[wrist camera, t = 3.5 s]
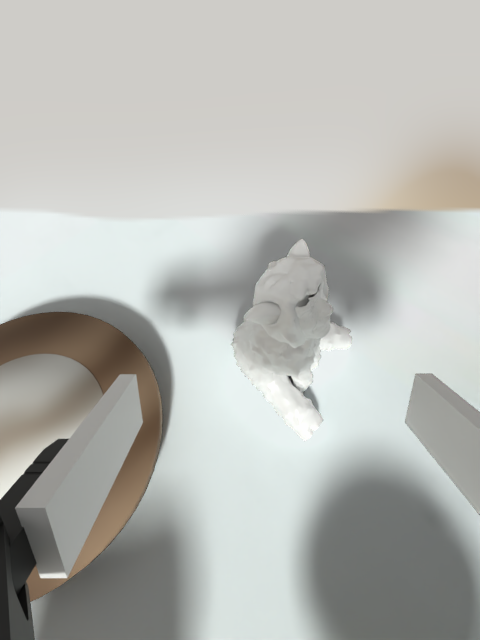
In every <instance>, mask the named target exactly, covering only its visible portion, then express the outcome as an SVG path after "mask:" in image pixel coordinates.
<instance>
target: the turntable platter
mask: <svg viewBox="0 0 480 640" xmlns="http://www.w3.org/2000/svg"><path fill="white" fill-rule="evenodd" d="M120 374H136V377H137V384H138V391H139V398H140V405H141V412H142V419H143V423H142V426H141V428H140V430H139V432H138V434H137V436H136V438H135V440H134V442H133V444H132V446H131V448H130V450H129V452H128V454H127V456H126V459H125V461H124V463H123V465H122V467H121V469H120V471H119V473H118V475H117V477H116V479H115V481H114V483H113V485H112V487H111V489H110V491H109V494H108V496H107V498H106V500H105V502H104V504H103V506H102V508H101V510H100V512H99V514H98V516H97V518H96V520H95V522H94V524H93V526H92V529H91V531H90V533H89V535H88V537H87V539H86V541H85V543H84V545H83V547H82V549H81V551H80V553H79V555H78V557H77V559H76V562H75V564H74V566H73V568H72V570H71V572H70V574H69V576H68V578H40V575H39V573H38V570H37V567H36V565H35V567H34V569H33V570H32V572H31V574H30V575H29V577H28V579H27V580H26V582H27V585H28V587H29V595H30V602H31V601H33V600H36V599H38V598H40V597H42V596H43V595H45V594H47V593H49V592H50V591H52V590H54V589H56V588H57V587H59V586H61V585H62V584H63V583H65V582H66V581H68V580H69V579H70V578H72V577H73V576H74V575H76V574H77V573H78V572H80V571H81V570H82V569H84V568H85V567H86V566H88V565H89V564H90V563H91V562H92V561H93V560H94V559H95V558H96V557H97V556H99V555H100V554H101V553H102V552H103V551H104V550H105V549H106V548H107V547H108V546H109V545H110V543H111V542H112V541H113V540H114V539H115V537H116V536H117V535H118V534H119V533H120V532H121V530H122V529H123V528H124V526H125V525H126V523H127V522H128V520H129V519H130V517H131V516H132V514H133V513H134V511H135V510H136V508H137V506H138V504H139V502H140V501H141V499H142V497H143V495H144V493H145V491H146V489H147V486H148V484H149V481H150V479H151V476H152V474H153V471H154V468H155V464H156V461H157V457H158V454H159V449H160V442H161V436H162V419H163V414H162V403H161V396H160V392H159V387H158V383H157V380H156V378H155V375H154V373H153V370H152V368H151V366H150V365H149V363H148V361H147V359H146V357H145V356H144V355H143V354H142V352H141V351H140V350H139V348H138V347H137V346H136V345H135V344H134V343H133V342H132V341H131V340H130V339H129V338H128V337H127V336H125V335H124V334H123V333H122V332H121V331H119V330H118V329H116V328H115V327H113V326H112V325H110V324H108V323H106V322H104V321H102V320H100V319H97V318H94V317H91V316H88V315H83V314H77V313H72V312H48V313H39V314H34V315H28V316H24V317H21V318H17V319H14V320H11V321H8V322H6V323H3V324H1V325H0V499H1V498H2V497H3V496H4V495H5V494H6V492H7V491H8V490H9V489H10V488H11V487H12V485H13V484H14V483H15V482H16V481H17V480H18V479H19V477H20V476H21V475H23V474H24V472H25V470H26V469H27V468H28V467H29V466H30V465H31V464H33V461H34V460H35V459H36V458H37V456H38V455H39V454H40V453H41V452H42V451H43V450H44V449H45V448H46V447H48V446H49V445H50V444H52V443H53V442H54V441H56V440H57V439H69V438H70V437H71V436H72V435H73V433H74V432H75V431H76V430H77V428H78V427H79V426H80V424H81V423H82V422H83V421H84V419H85V418H86V417H87V416H88V414H89V413H90V412H91V410H92V409H93V408H94V407H95V405H96V404H97V403H98V402H99V400H100V399H101V398H102V396H103V395H104V394H105V393H106V391H107V390H108V389H109V388H110V386H111V385H112V384H113V382H114V381H115V380H116V379H117V377H118V376H119V375H120Z"/></svg>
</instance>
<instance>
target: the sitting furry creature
mask: <svg viewBox="0 0 480 640" xmlns="http://www.w3.org/2000/svg"><path fill="white" fill-rule="evenodd" d="M328 298H329V288H328V285H327V279H326V272H325V267H324V265H323V264H321V263H320V262H319V261H317V260H316V259H314V258H312V257H310V253H309V249H308V246H307V243H306V242H305V241H304V240H303V239H300V240H299V241H297V242H296V244H295V245H294V246H293V247H292V248H291V249H290V251H289V253H288V255H287V257H285V258H281V259H279V260H278V261H272V262H270V263H269V264H268V269H267V270H265V272H264V273H263V275H262V276H261V277H260V279H259V280H258V282H257V283H256V284H255V292H254V297H253V307H252V308H251V309H249V310H248V311H247V312H246V314H245V315H244V317H243V319H244V320H245V321H243V323H242V324H241V325H240V326H238V327H237V329H236V331H235V332H234V333H233V336H234V338H233V342H232V343H231V346H232V347H233V350H234V357H235V359H236V361H237V362H236V365H237V366H238V367H240V370H241V372H242V373H243V374H244V376H245V377H248V379H249V380H250V381H251V384H252V385H254V386H256V389H257V390H258V391H261V392H262V394H263V397H264V398H265V399H266V400H267V401H268V403H270V404H271V405H272V406H273V408H274V409H275V411H276V413H277V414H278V415H279V416H281V417H282V418H283V419H284V422H285V424H286V425H287V426H290V427H291V428H292V429H293V430H294V431H295V432H296V434H297V435H298V436H299V437H300V438H301V439H302V440H304V441H307V440H308V439H309V438H310V437H311V436H312V434H313V432H312V431H315V430H316V429H318V427H319V426H320V425H321V423H322V422H323V418H322V416H321V414H320V413H319V412H318V411H317V410H316V408H315V407H314V406H313V404H312V400H311V399H308V398H306V397H305V396H303V394H304V391H305V390H306V389H307V388H308V387H309V386H310V385H311V384H312V383H313V374H312V370H314V369H315V368H316V367H318V366H319V360H320V359H321V355H320V352H321V350H323V351H326V350H327V351H332V350H333V349H339V350H341V349H349V348H350V346H351V344H352V337H351V336H350V335H349V333H350V332H351V330H350V329H348V328H346V327H341V326H338V325H336V324H335V323H334V322H331V321H330V316H331V314H332V313H333V307H332V305H330V304H329V303H328V302H327V300H328ZM288 376H291V379H290V378H289V377H288Z"/></svg>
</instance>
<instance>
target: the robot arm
mask: <svg viewBox="0 0 480 640" xmlns="http://www.w3.org/2000/svg"><path fill="white" fill-rule="evenodd" d="M142 423H143V419H142V412H141V405H140V398H139V391H138V384H137V377H136V374H120V375H119V376H118V377H117V379H116V380H115V381H114V382H113V384H112V385H111V386H110V388H109V389H108V390H107V391H106V393H105V394H104V395H103V396H102V398H101V399H100V400H99V402H98V403H97V404H96V405H95V407H94V408H93V409H92V410H91V412H90V413H89V414H88V416H87V417H86V418H85V419H84V421H83V422H82V423H81V424H80V426H79V427H78V428H77V430H76V431H75V432H74V433H73V435H72V436H71V437H70V438H69V439H57V440H56V441H54V442H53V443H52V444H50V445H49V446H48V447H46V448H45V449H44V450H43V451H42V452H41V453H40V454H39V455H38V456H37V458H36V459H35V460H34V461H33V464H31V465H30V466H29V467H28V468H27V469H26V470H25V472H24V474H23V475H21V476H20V477H19V479H18V480H17V481H16V482H15V483H14V484H13V485H12V487H11V488H10V489H9V490H8V491H7V492H6V494H5V495H4V496H3V497H2V498H1V499H0V640H35V638H34V629H33V621H32V612H31V604H30V595H29V587H28V585H27V582H26V580H27V579H28V577H29V575H30V574H31V572H32V570H33V569H34V567H35V565H36V567H37V570H38V573H39V575H40V578H68V576H69V574H70V572H71V570H72V568H73V566H74V564H75V562H76V559H77V557H78V555H79V553H80V551H81V549H82V547H83V545H84V543H85V541H86V539H87V537H88V535H89V533H90V531H91V529H92V526H93V524H94V522H95V520H96V518H97V516H98V514H99V512H100V510H101V508H102V506H103V504H104V502H105V500H106V498H107V496H108V494H109V491H110V489H111V487H112V485H113V483H114V481H115V479H116V477H117V475H118V473H119V471H120V469H121V467H122V465H123V463H124V461H125V459H126V456H127V454H128V452H129V450H130V448H131V446H132V444H133V442H134V440H135V438H136V436H137V434H138V432H139V430H140V428H141V426H142ZM405 423H406V424H407V426H408V427H409V428H410V429H411V431H412V432H413V433H414V434H415V436H416V437H417V438H418V439H419V441H420V442H421V443H422V444H423V446H424V447H425V448H426V449H427V451H428V452H429V453H430V454H431V456H432V457H433V458H434V459H435V460H436V462H437V463H438V464H439V465H440V467H441V468H442V469H443V470H444V472H445V473H446V474H447V475H448V477H449V478H450V479H451V480H452V482H453V483H454V484H455V485H456V487H457V488H458V489H459V490H460V491H461V493H462V494H463V495H464V496H465V498H466V499H467V500H468V501H469V503H470V504H471V505H472V506H473V508H474V509H475V510H476V511H477V513H478V514H479V515H480V412H479V411H478V410H476V409H475V408H474V407H473V406H471V405H470V404H469V403H468V402H466V401H465V400H464V399H463V398H462V397H460V396H459V395H458V394H457V393H455V392H454V391H453V390H452V389H450V388H449V387H448V386H447V385H445V384H444V383H443V382H442V381H440V380H439V379H438V378H437V377H436V376H434V375H433V374H415V378H414V383H413V387H412V392H411V396H410V401H409V405H408V410H407V414H406V419H405Z"/></svg>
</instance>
